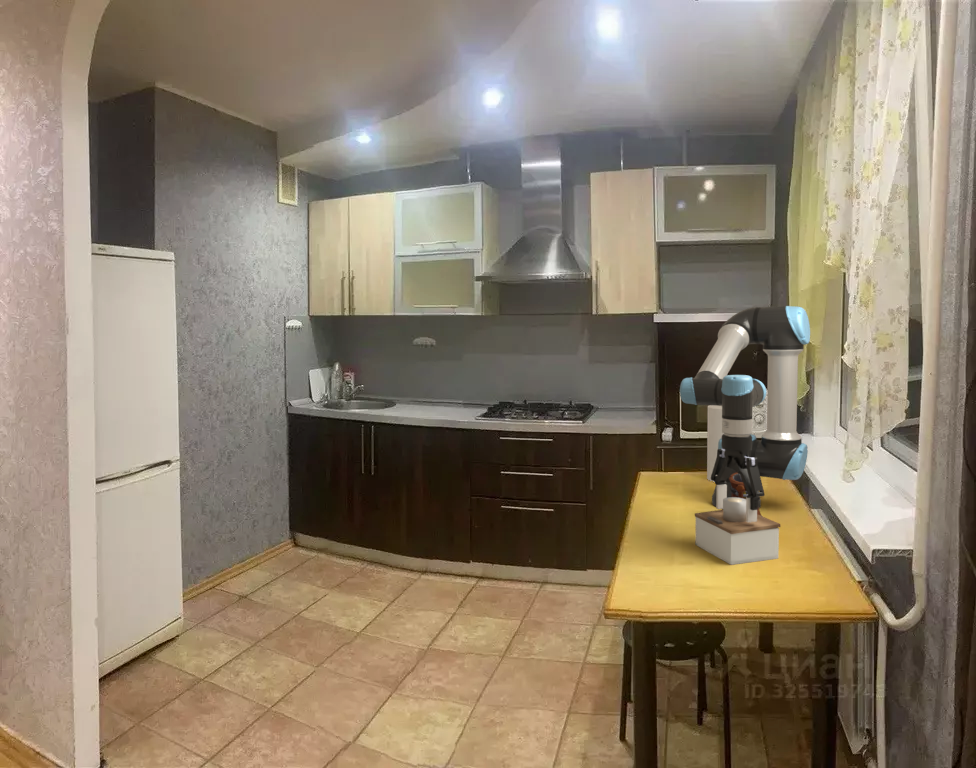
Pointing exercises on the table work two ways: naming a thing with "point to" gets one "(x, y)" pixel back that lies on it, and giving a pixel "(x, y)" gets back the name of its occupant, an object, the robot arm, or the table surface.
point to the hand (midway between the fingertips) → (735, 514)
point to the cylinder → (713, 436)
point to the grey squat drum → (734, 509)
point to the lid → (736, 527)
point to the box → (737, 543)
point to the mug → (739, 488)
